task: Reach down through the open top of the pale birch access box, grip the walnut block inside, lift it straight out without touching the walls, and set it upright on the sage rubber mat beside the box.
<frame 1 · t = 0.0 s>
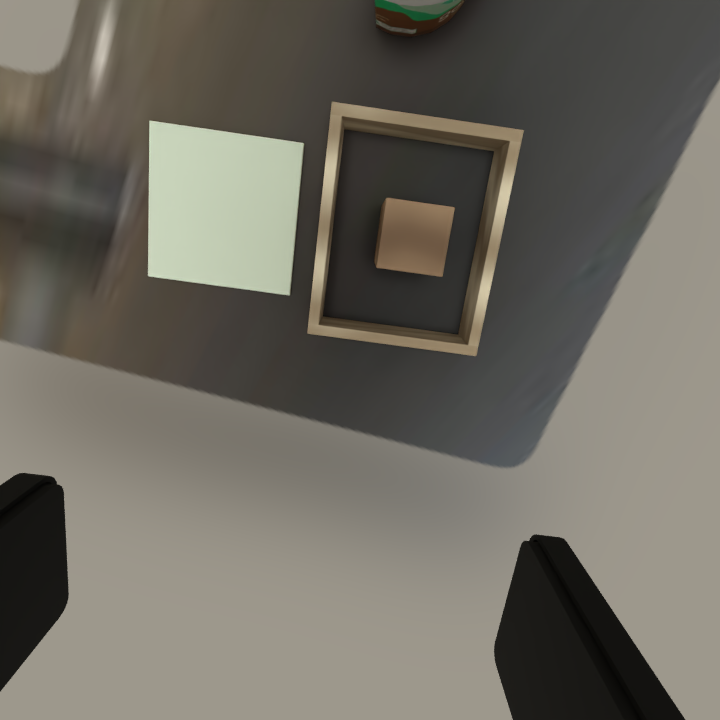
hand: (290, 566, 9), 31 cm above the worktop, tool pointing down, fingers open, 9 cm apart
access box: (404, 237, 37), on the worktop
walnut block: (409, 237, 34), in the access box
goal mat: (224, 212, 37), on the worktop
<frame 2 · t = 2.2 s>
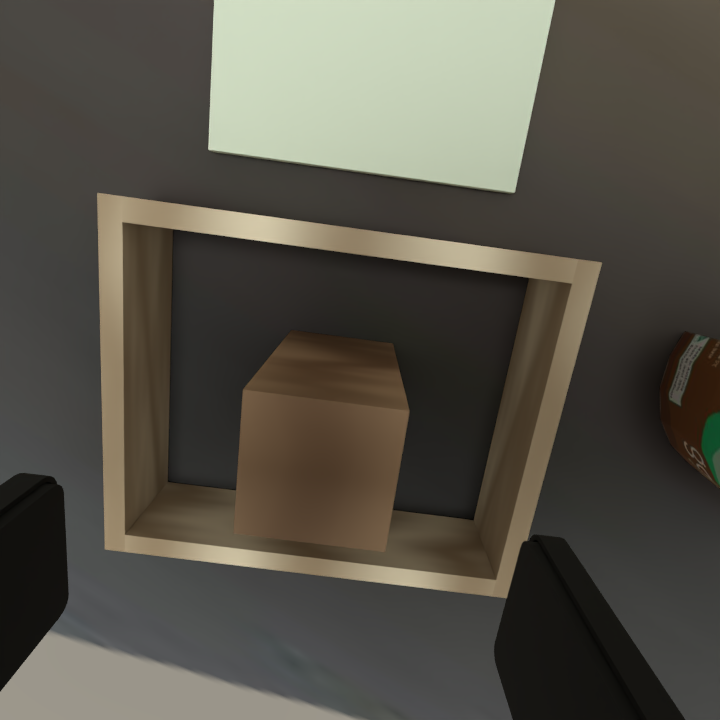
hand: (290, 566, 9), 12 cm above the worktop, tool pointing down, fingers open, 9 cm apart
access box: (336, 385, 20), on the worktop
walnut block: (329, 419, 16), in the access box
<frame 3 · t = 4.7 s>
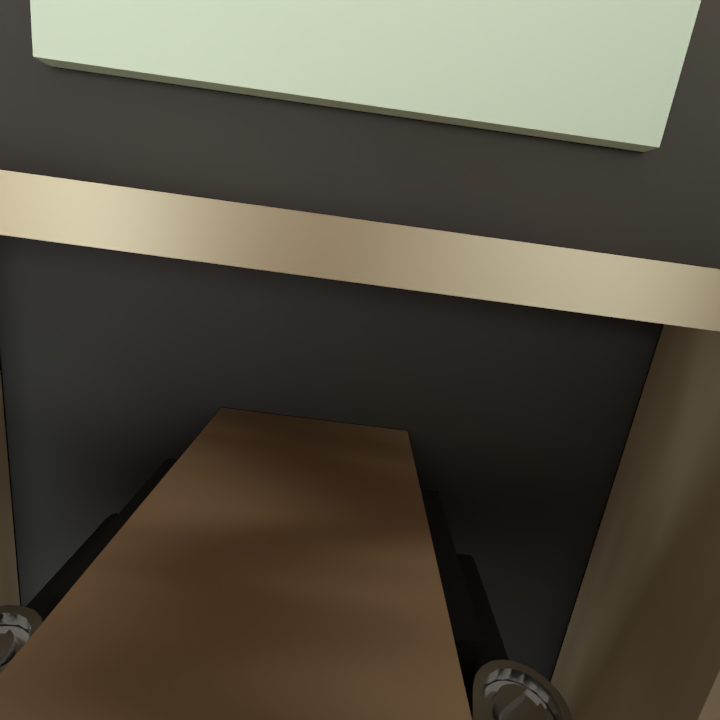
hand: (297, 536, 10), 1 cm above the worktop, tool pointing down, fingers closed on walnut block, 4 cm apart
access box: (307, 501, 11), on the worktop
walnut block: (275, 635, 8), in the access box, touching gripper
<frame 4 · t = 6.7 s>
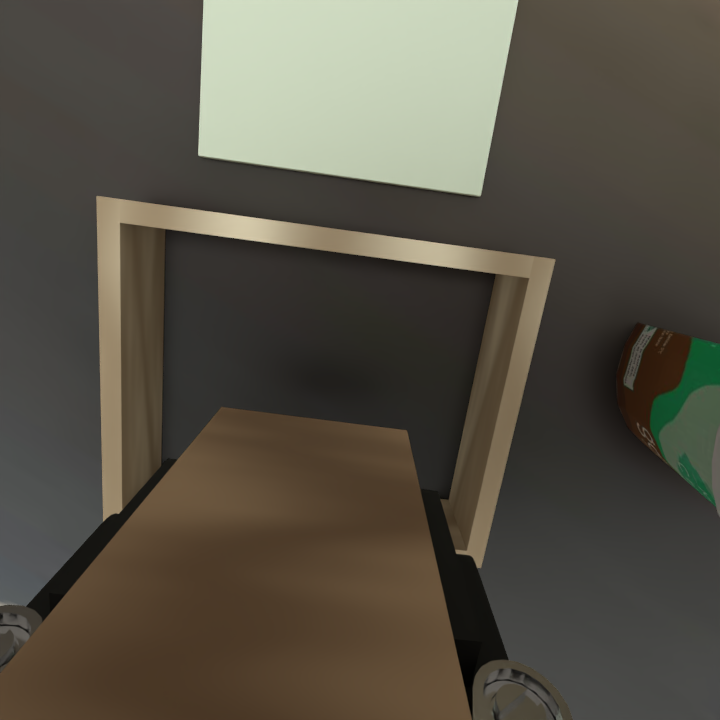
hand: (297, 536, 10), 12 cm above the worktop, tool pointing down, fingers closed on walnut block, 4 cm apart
access box: (319, 374, 22), on the worktop
walnut block: (275, 634, 8), point 15 cm above the worktop, touching gripper
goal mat: (360, 17, 18), on the worktop
food container: (672, 416, 23), on the worktop
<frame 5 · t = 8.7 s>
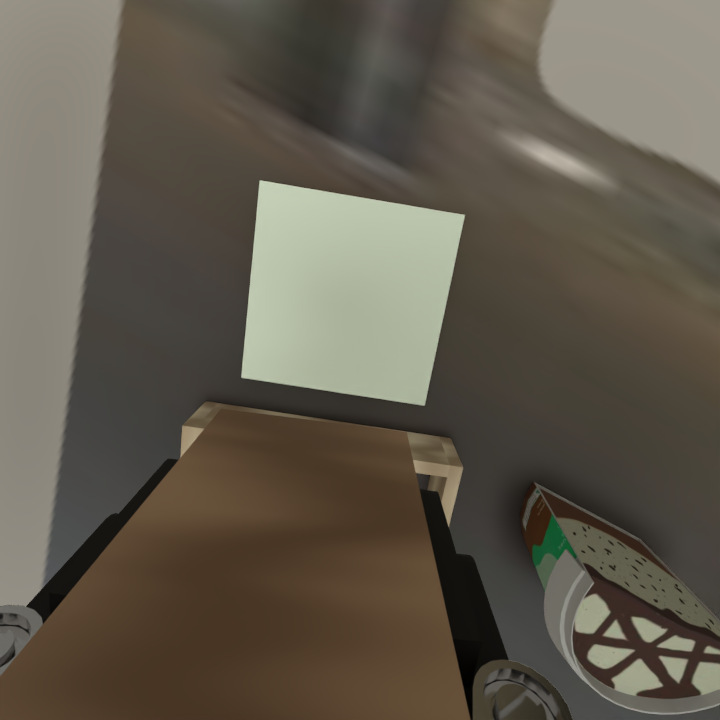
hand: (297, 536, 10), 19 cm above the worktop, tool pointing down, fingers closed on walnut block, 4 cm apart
access box: (316, 507, 32), on the worktop
walnut block: (275, 637, 8), point 22 cm above the worktop, touching gripper
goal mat: (347, 299, 28), on the worktop
food container: (560, 541, 33), on the worktop
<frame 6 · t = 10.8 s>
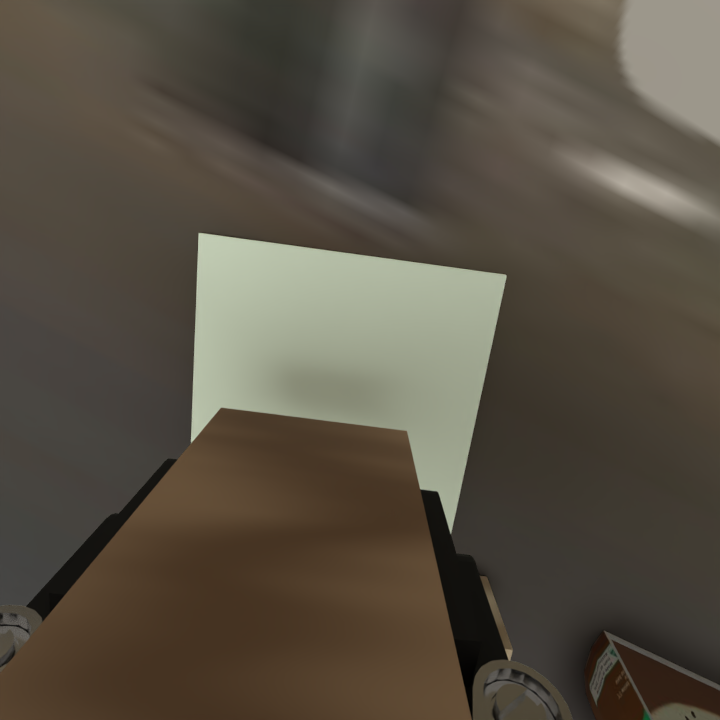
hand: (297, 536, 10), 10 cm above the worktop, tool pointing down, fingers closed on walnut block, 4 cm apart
access box: (302, 666, 23), on the worktop
walnut block: (275, 636, 8), point 12 cm above the worktop, touching gripper
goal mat: (336, 395, 19), on the worktop
food container: (639, 702, 24), on the worktop
when the fingers open (3 cm above the worktop, at t = 12.8 s): walnut block drops 1 cm, resting on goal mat.
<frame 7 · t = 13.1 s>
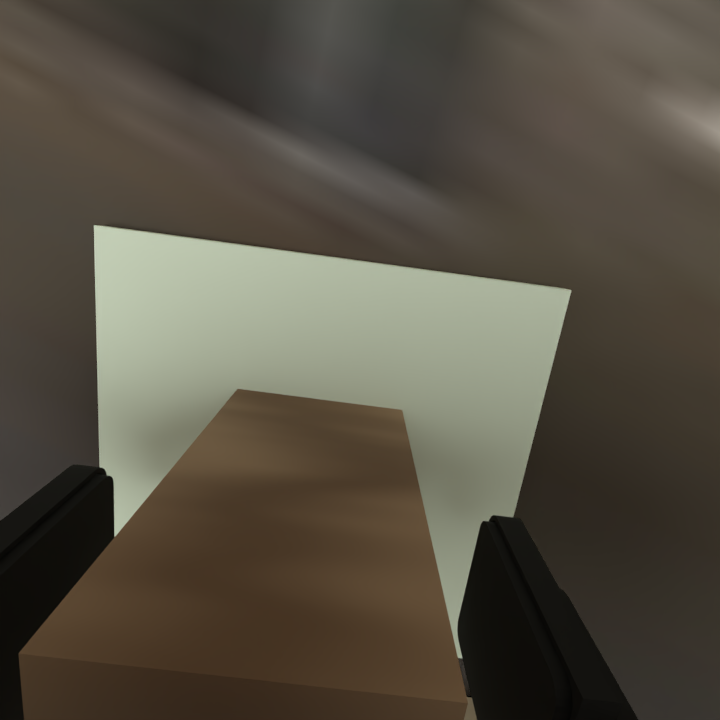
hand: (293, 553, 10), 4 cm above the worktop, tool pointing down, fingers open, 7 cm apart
walnut block: (289, 574, 9), on the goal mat
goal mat: (313, 463, 13), on the worktop
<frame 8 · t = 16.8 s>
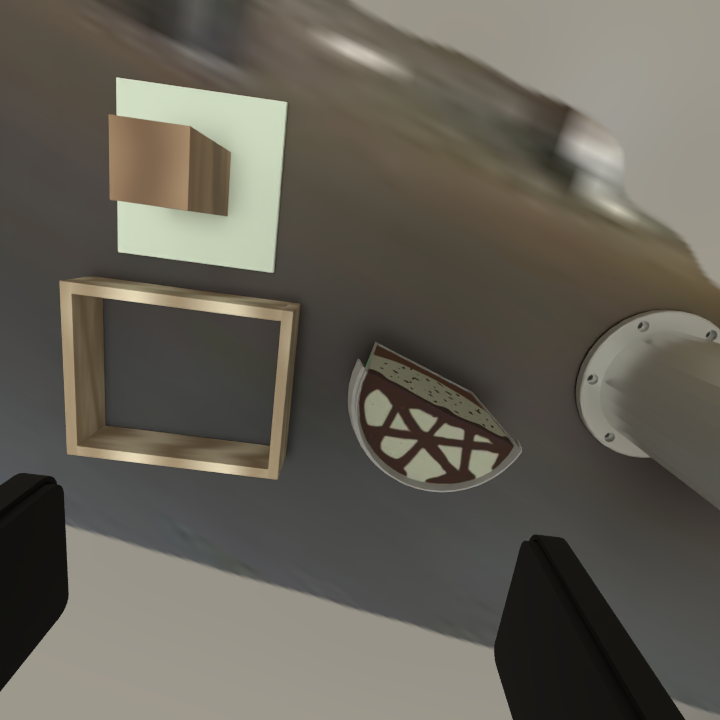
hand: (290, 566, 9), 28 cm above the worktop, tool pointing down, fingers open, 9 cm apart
access box: (194, 370, 38), on the worktop
walnut block: (177, 173, 29), on the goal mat
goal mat: (201, 181, 34), on the worktop
food container: (406, 397, 38), on the worktop
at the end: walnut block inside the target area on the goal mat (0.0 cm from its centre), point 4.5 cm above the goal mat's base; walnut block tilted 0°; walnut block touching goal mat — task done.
